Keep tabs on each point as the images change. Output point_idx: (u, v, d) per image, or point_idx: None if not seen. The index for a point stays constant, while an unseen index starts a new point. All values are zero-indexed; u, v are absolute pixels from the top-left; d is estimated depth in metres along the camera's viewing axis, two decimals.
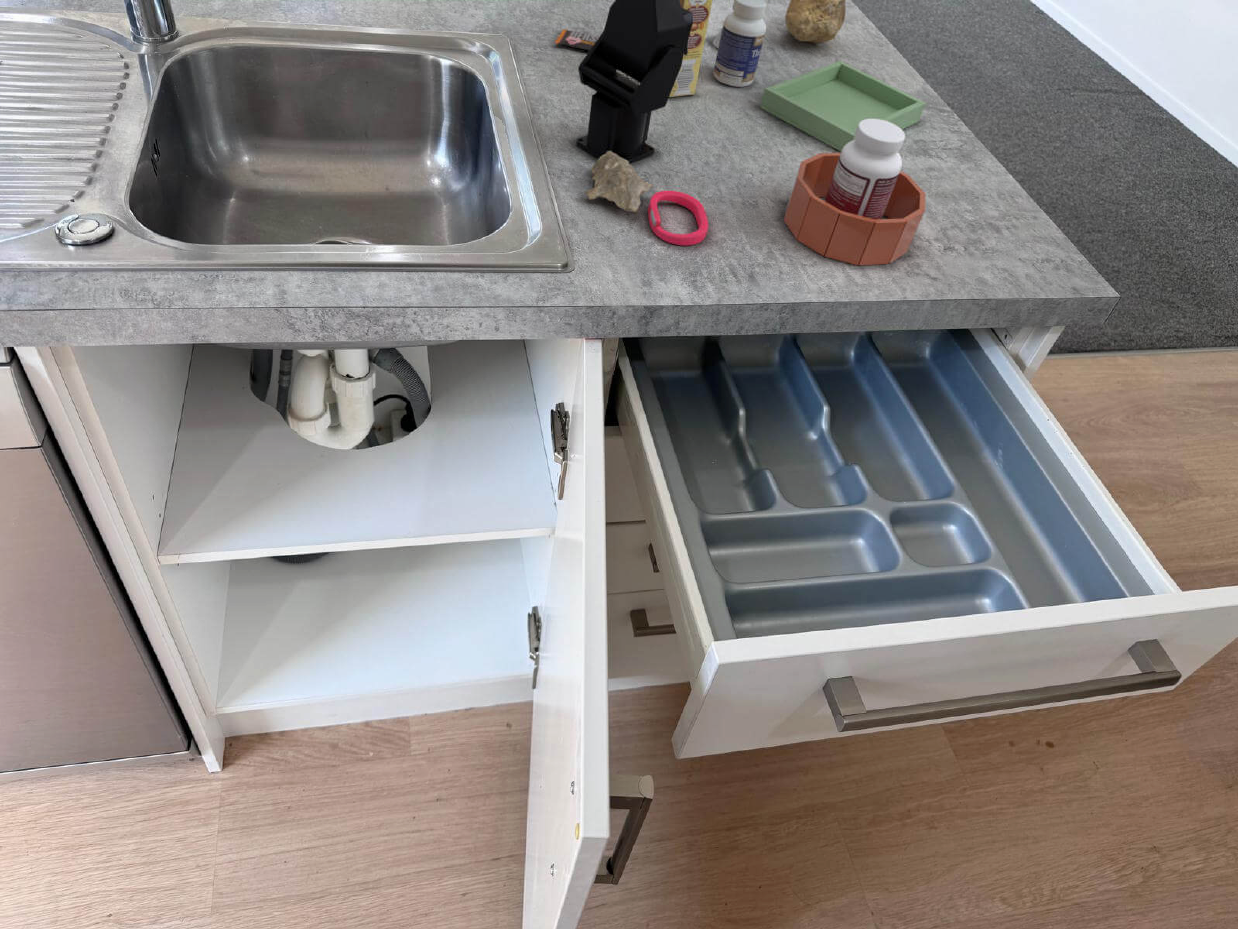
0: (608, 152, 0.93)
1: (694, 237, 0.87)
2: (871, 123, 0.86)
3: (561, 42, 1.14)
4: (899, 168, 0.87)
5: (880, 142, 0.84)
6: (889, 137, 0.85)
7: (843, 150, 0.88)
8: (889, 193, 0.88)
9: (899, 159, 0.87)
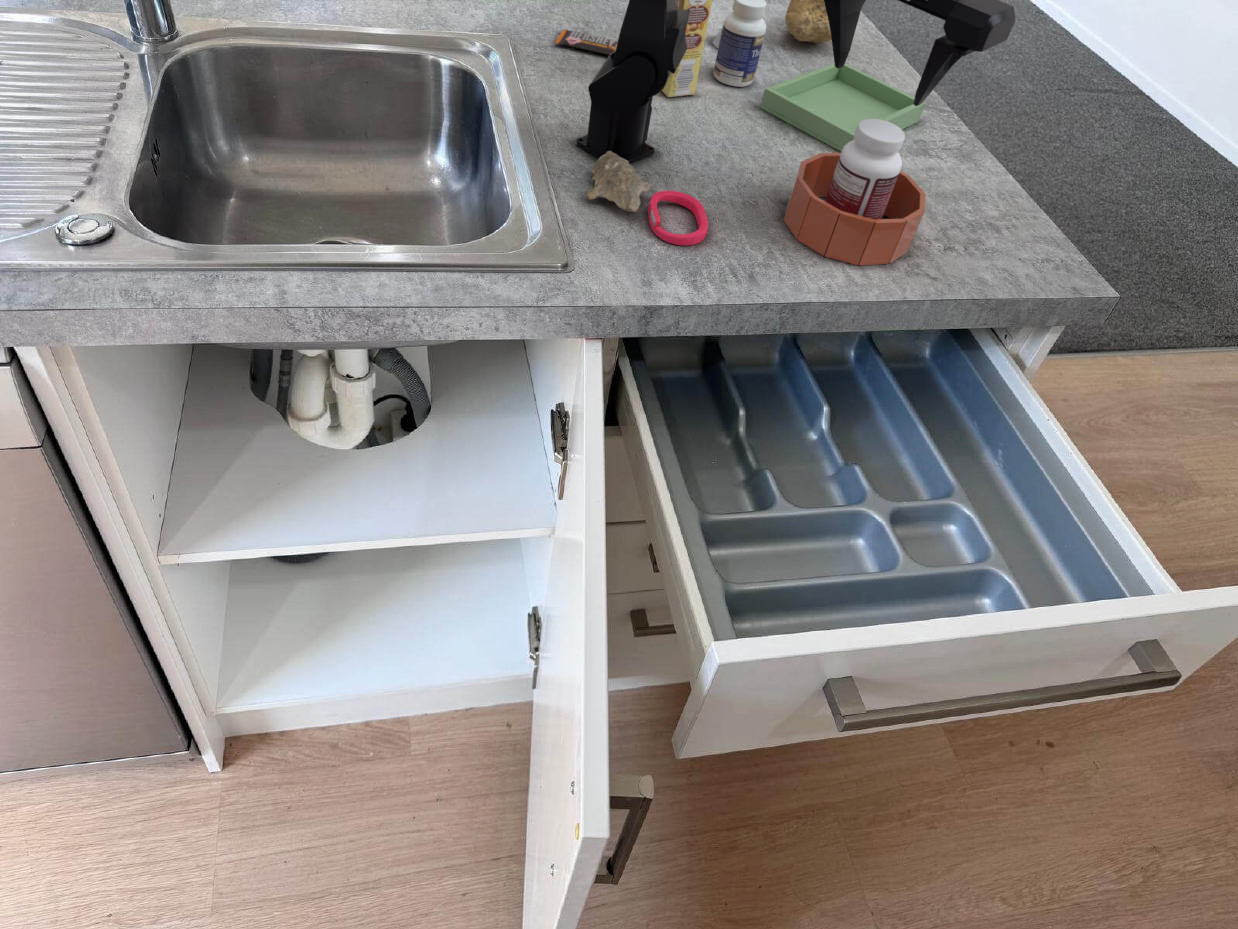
0: (608, 152, 0.93)
1: (694, 237, 0.87)
2: (871, 123, 0.86)
3: (561, 42, 1.14)
4: (899, 168, 0.87)
5: (880, 142, 0.84)
6: (889, 137, 0.85)
7: (843, 150, 0.88)
8: (889, 193, 0.88)
9: (899, 159, 0.87)
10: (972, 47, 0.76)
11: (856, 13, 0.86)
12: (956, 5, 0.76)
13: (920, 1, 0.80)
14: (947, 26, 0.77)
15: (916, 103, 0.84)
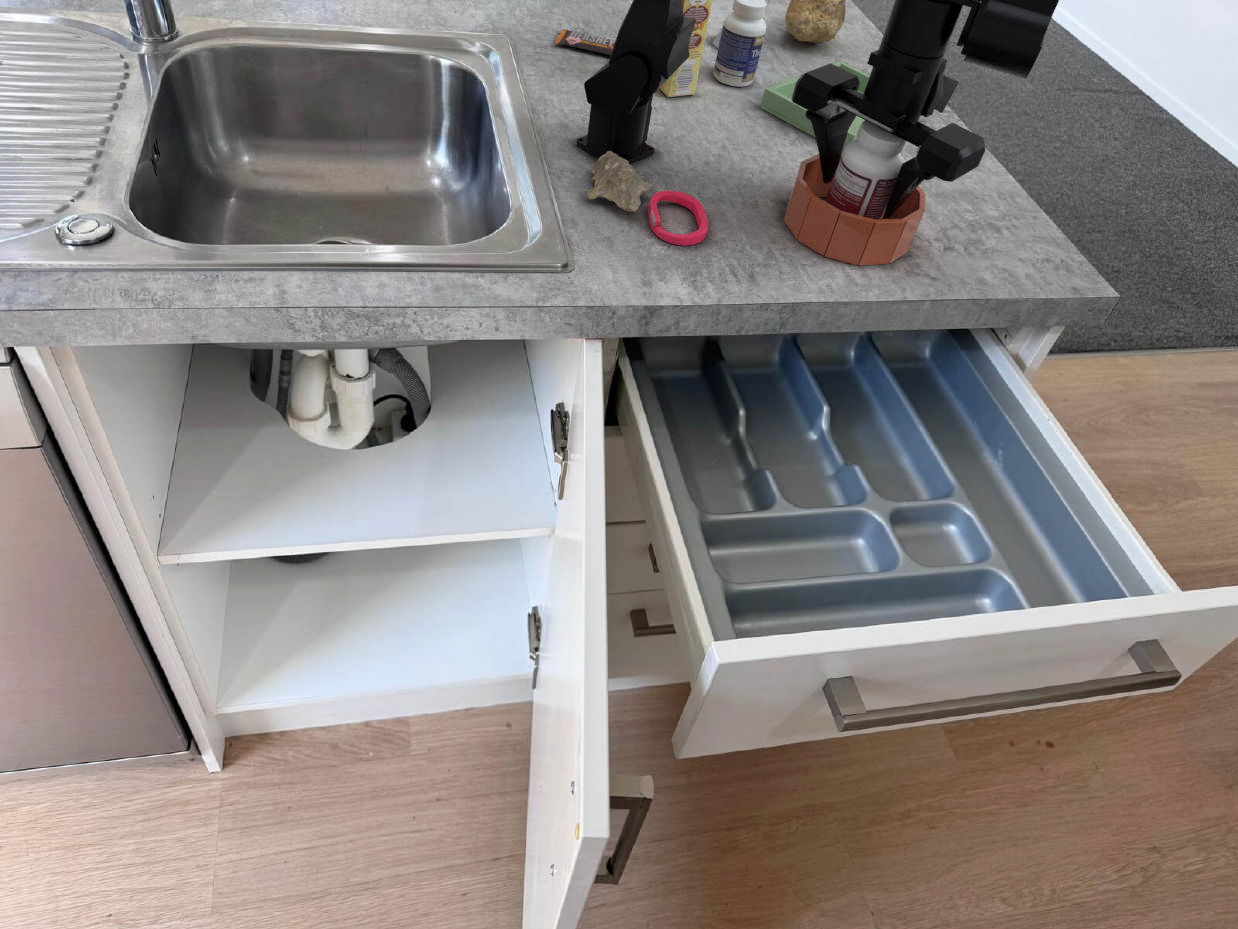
0: (608, 152, 0.93)
1: (694, 237, 0.87)
2: None
3: (561, 42, 1.14)
4: None
5: (883, 143, 0.84)
6: (892, 138, 0.85)
7: (845, 150, 0.88)
8: (890, 194, 0.88)
9: (901, 160, 0.87)
10: (943, 177, 0.80)
11: (843, 134, 0.90)
12: (928, 138, 0.80)
13: (895, 128, 0.84)
14: (920, 156, 0.81)
15: (887, 215, 0.89)
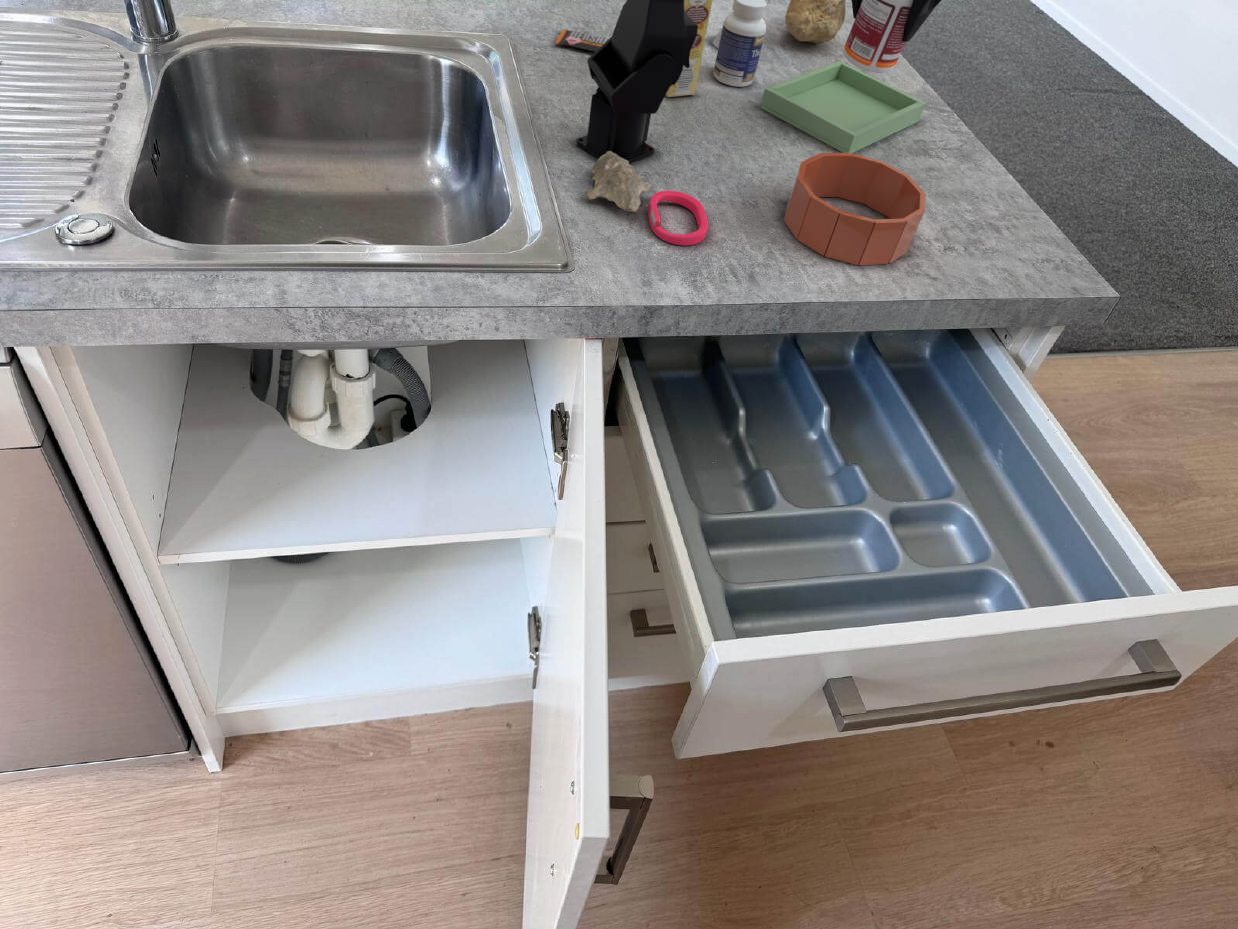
0: (608, 152, 0.93)
1: (694, 237, 0.87)
2: None
3: (561, 42, 1.14)
4: None
5: None
6: None
7: None
8: None
9: None
10: None
11: None
12: None
13: None
14: None
15: (904, 39, 0.96)
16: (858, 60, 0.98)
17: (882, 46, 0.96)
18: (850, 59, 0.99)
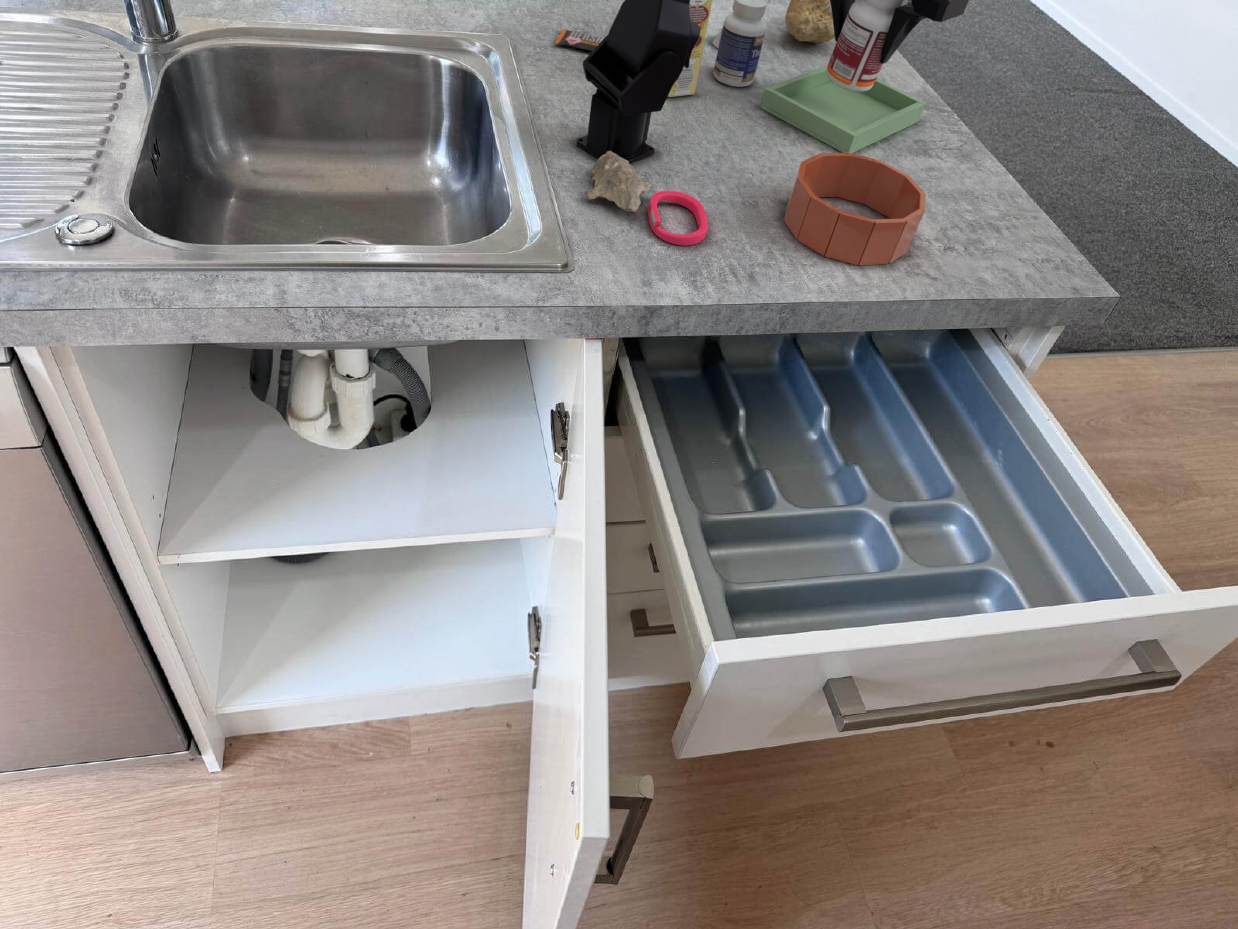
0: (608, 152, 0.93)
1: (694, 237, 0.87)
2: None
3: (561, 42, 1.14)
4: None
5: None
6: None
7: (852, 6, 1.03)
8: None
9: None
10: (933, 18, 0.96)
11: None
12: None
13: None
14: (914, 1, 0.96)
15: (882, 61, 1.04)
16: (839, 80, 1.07)
17: (861, 67, 1.05)
18: (832, 78, 1.07)
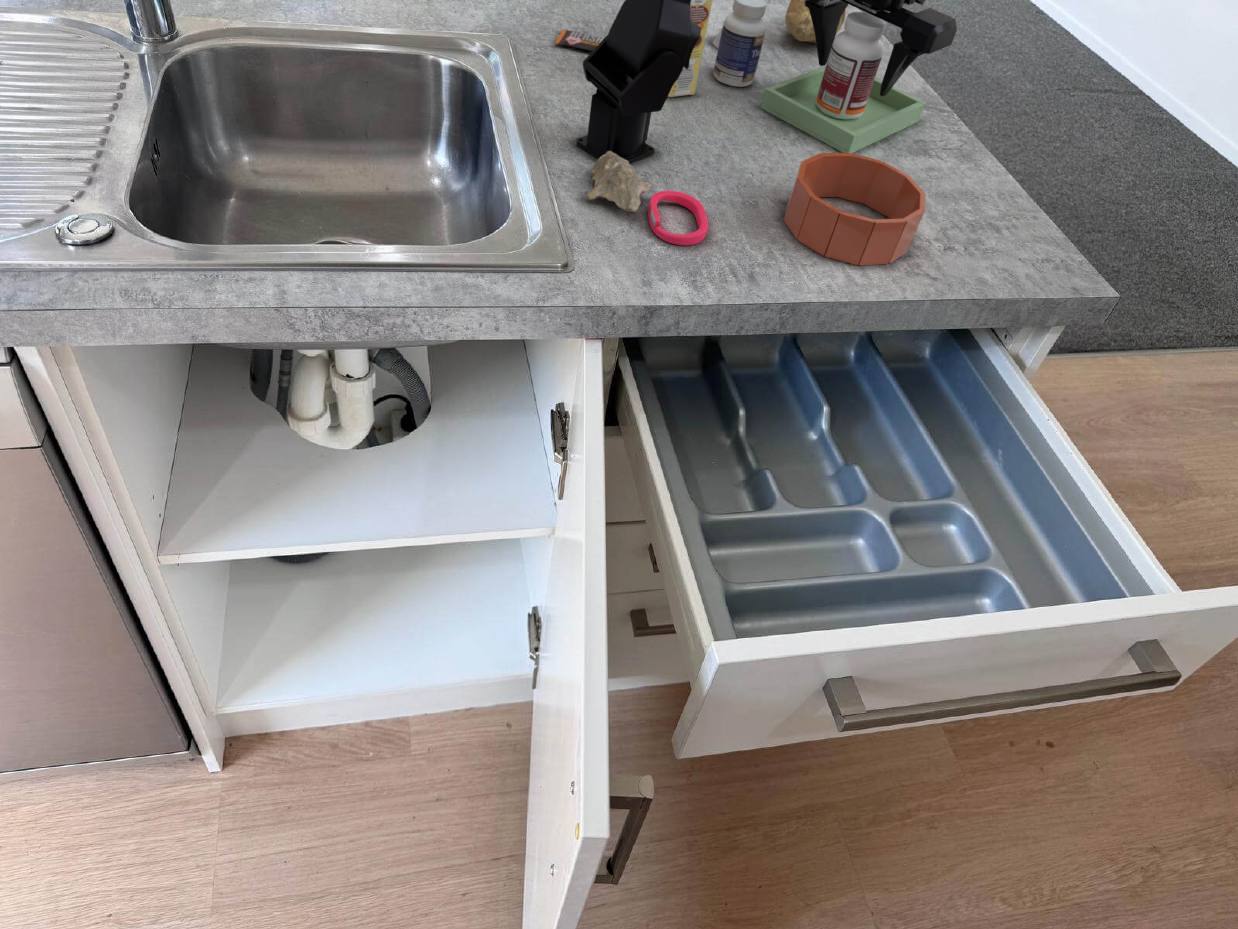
0: (608, 152, 0.93)
1: (694, 237, 0.87)
2: (858, 14, 1.05)
3: (561, 42, 1.14)
4: (881, 52, 1.05)
5: (865, 28, 1.03)
6: (873, 24, 1.03)
7: (835, 38, 1.06)
8: (873, 75, 1.07)
9: (881, 45, 1.05)
10: (921, 50, 0.98)
11: (836, 22, 1.08)
12: (910, 17, 0.98)
13: (883, 13, 1.02)
14: (903, 33, 0.99)
15: (881, 94, 1.07)
16: (829, 110, 1.10)
17: (849, 96, 1.08)
18: (822, 109, 1.10)
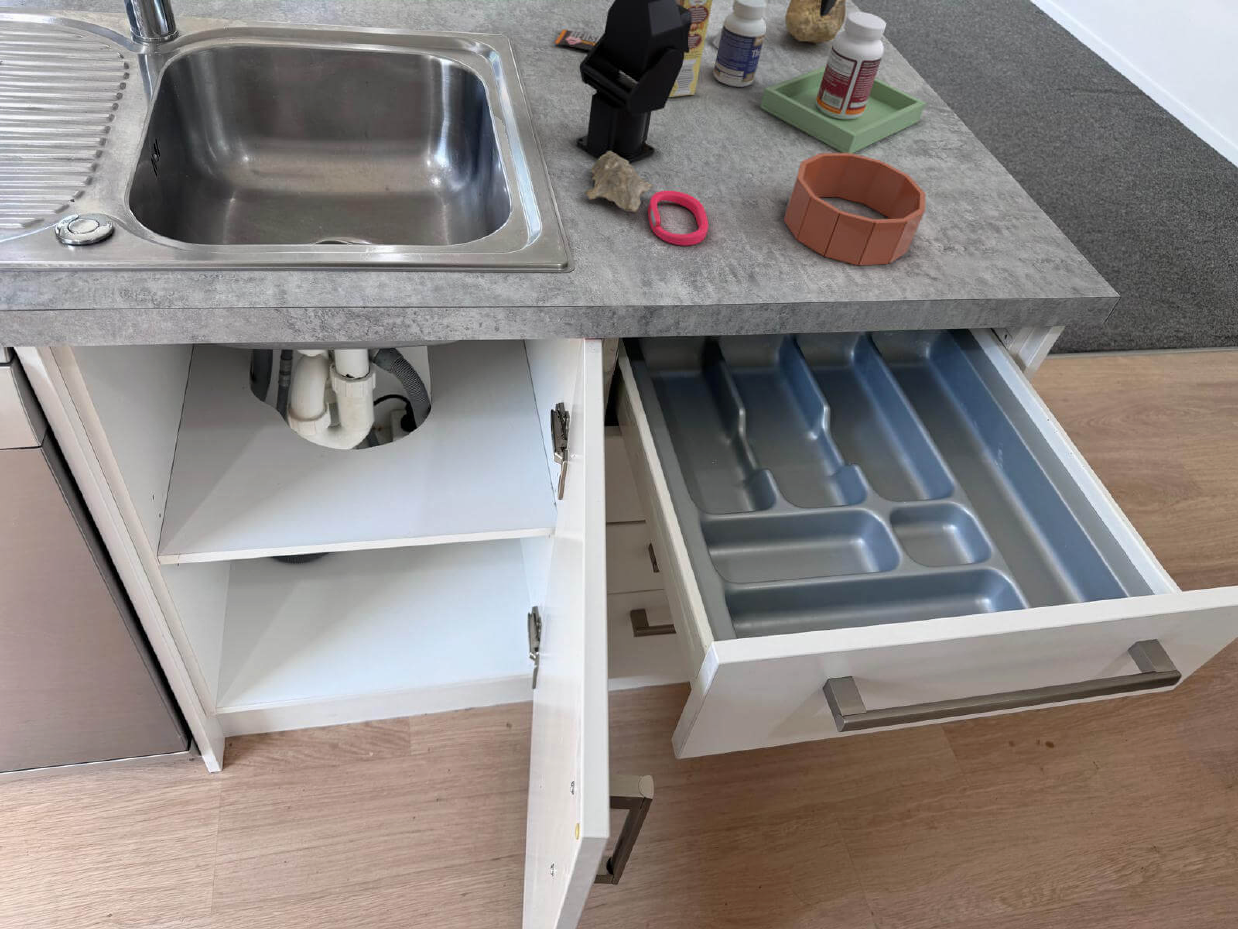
0: (608, 152, 0.93)
1: (694, 237, 0.87)
2: (858, 14, 1.05)
3: (561, 42, 1.14)
4: (881, 52, 1.05)
5: (865, 28, 1.03)
6: (873, 24, 1.03)
7: (835, 38, 1.06)
8: (873, 75, 1.07)
9: (881, 45, 1.05)
10: None
11: None
12: None
13: None
14: None
15: (822, 13, 0.99)
16: (829, 110, 1.10)
17: (849, 96, 1.08)
18: (822, 109, 1.10)
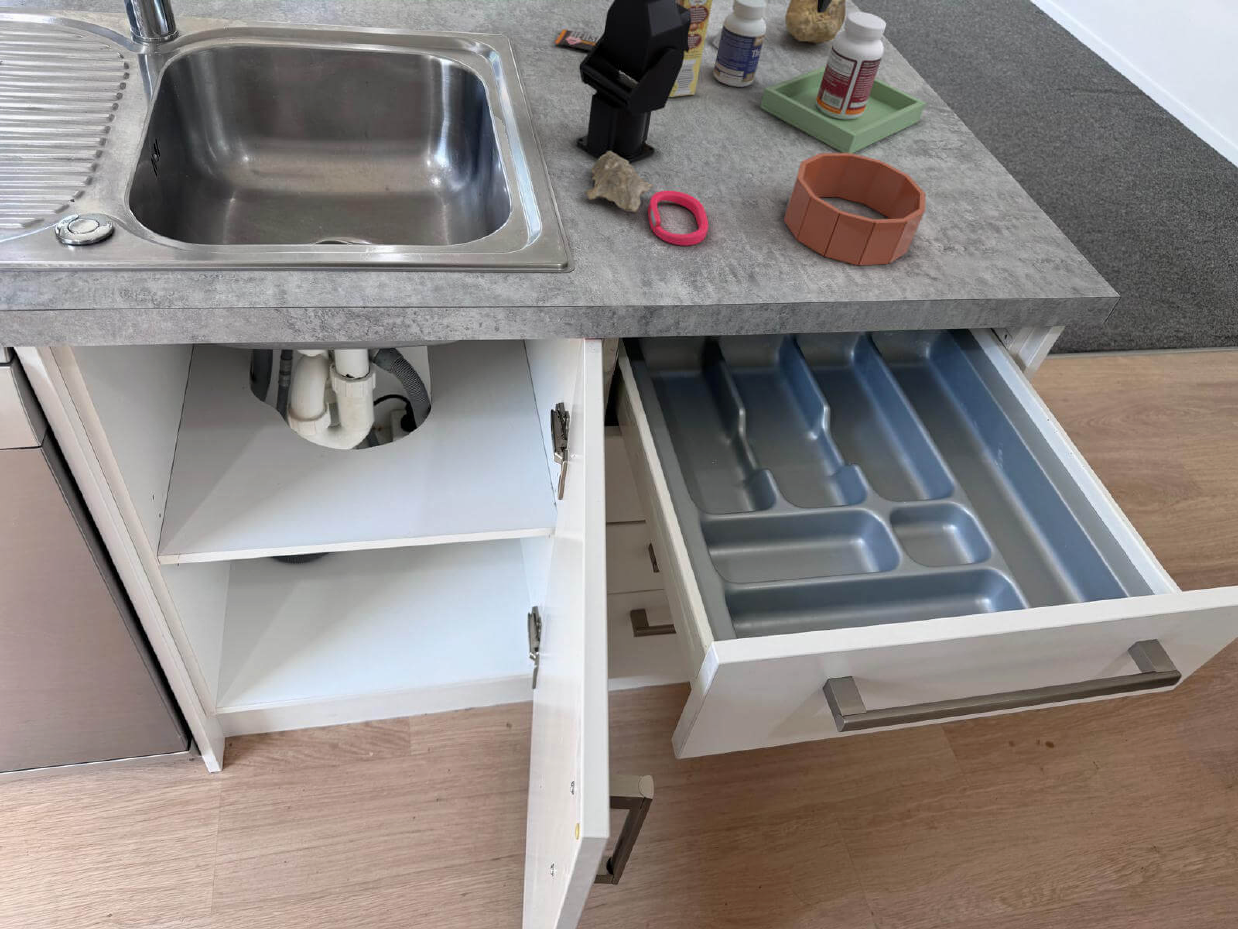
0: (608, 152, 0.93)
1: (694, 237, 0.87)
2: (858, 14, 1.05)
3: (561, 42, 1.14)
4: (881, 52, 1.05)
5: (865, 28, 1.03)
6: (873, 24, 1.03)
7: (835, 38, 1.06)
8: (873, 75, 1.07)
9: (881, 45, 1.05)
10: None
11: None
12: None
13: None
14: None
15: (819, 10, 0.99)
16: (829, 110, 1.10)
17: (849, 96, 1.08)
18: (822, 109, 1.10)
